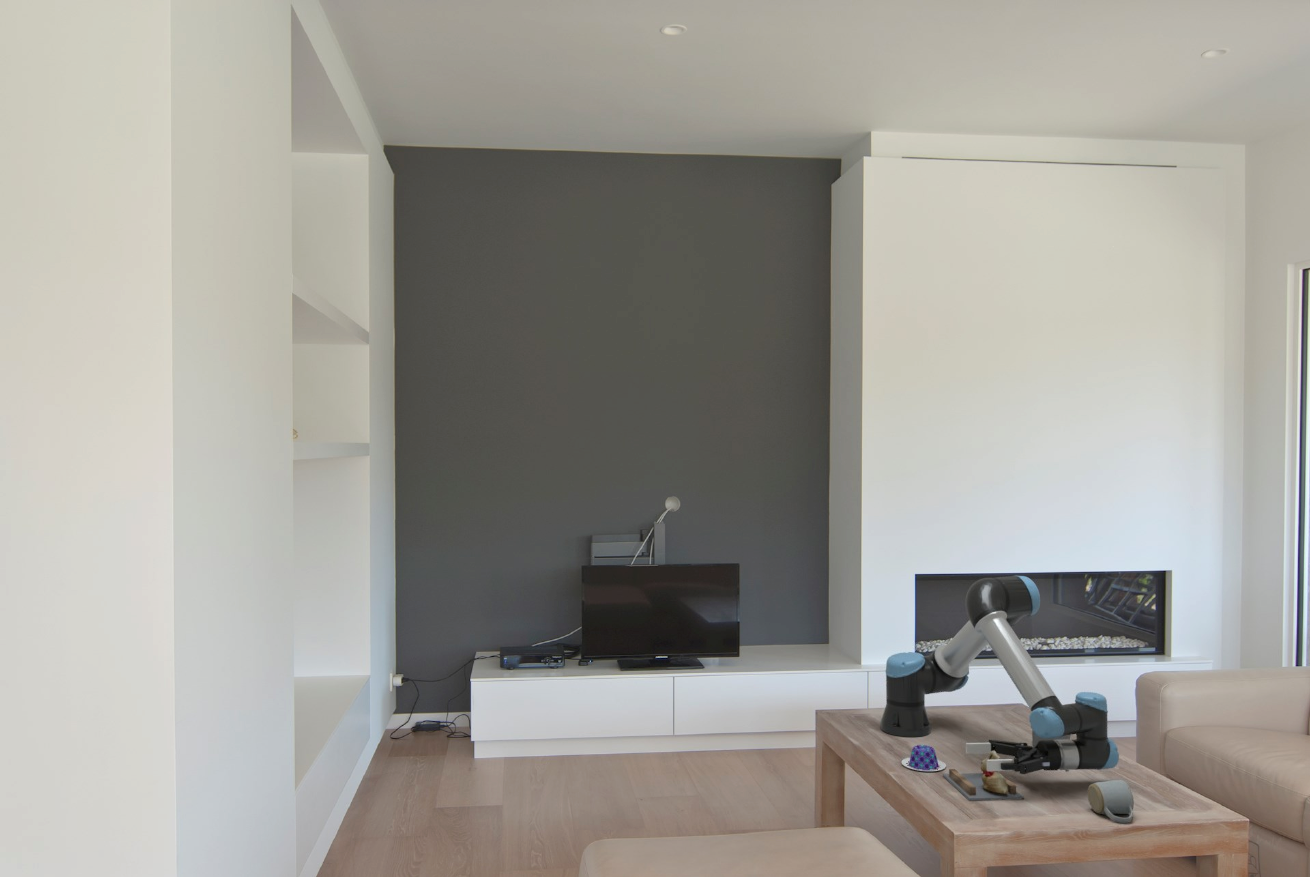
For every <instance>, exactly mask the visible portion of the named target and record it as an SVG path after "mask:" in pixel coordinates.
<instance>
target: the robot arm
mask: <svg viewBox="0 0 1310 877" xmlns="http://www.w3.org/2000/svg"><path fill="white" fill-rule="evenodd" d="M964 602H965V610H966V614H967V617H968V619H969V620H968V621H967V622H966V623H965V624H964V626H962V628H961V629H959V631H958V632H957V633H956V634H955V636H953V637H952V638H951V639H950V640H949V642H948V643H947V644H941V645H939V646H938V647H937V648H936V649H935V650H934V651H932V653H931V654H930V655H923V654H922V653H919V652H914V651H907V652H906V651H905V652H899V653H894V654H891V655H890V656H889V657H888V658H887V660H886V664H885V665H886V666H885V679H886V680H885V682H886V684H885V686H886V689H885V690H886V692H885V693H886V694H885V695H886V704H885V706H884V710H883V714H882V716H881V720H880V729H881V731H883V732H884V733H886V734H888V735H893V736H898V737H908V738H915V737H918V738H919V737H923V736H927V735H930V734H931V730H932V728H931V721H930V719H929V715H928V712H927V710H926V705H925V702H926V701H925V695H930V694H931V695H932V694H939V693H945V692H946V693H951V692H955V691H958V690H961V689H962V688H964V686H966V684H968V680H969V676H968V675H969V674H970V664H971V662H972V661H974V660H975V658H977V657H978V656H979V654H980V653H981V652H982V651H983V650H984V649H985V648H986V647H987V646H988V645H989V647H990V649H991V650H992V652H993V653H994V654H995V656H996V657H997V659H998V660H999V662H1000V664H1001V665H1002V666H1003V669H1004V670H1005V672H1006V673H1007V675H1008V676H1009V678H1010V679H1011V682H1012V683H1013V684H1014V686H1015V688H1016V689H1017V691H1018V692H1019V694H1020V695H1021V697H1022V698H1023V700H1024V702H1025V703H1026V705H1027V706H1028V708H1029V709H1030V712H1031V713H1029V714H1030V715H1029V720H1028V721H1029V723H1030V728H1031V731H1032V730H1033V732H1034V733H1035V734H1036V735H1037V736H1039V737H1041V738H1058V737H1061V736H1066V735H1071V736H1072V735H1075V736H1076V739H1071V738H1070V739H1065V740H1054V741H1053V740H1040V741H1039V742H1038V743H1037V745H1036V747H1032V745H1028V744H1029V743H1027V742H1016V741H1007V740H1005V741H1004V740H998V739H997V740H996V739H988V742H965V754H966V755H984V754H985V755H987V754H988V755H989V753H990V752H991V751H995V752H996V753H997V755H998V754H999V755H1005V756H1011V757H1013V759H1012V758H1011V759H1009V758H1005V759H1002V758H1000V759H996V760H987V771H998V772H1013V771H1014V772H1015V773H1019V774H1020V775H1026V774H1030V773H1033V772H1037V771H1041V770H1043V771H1058V770H1060V771H1065V772H1067V773H1068V772H1069V771H1073V770H1076V771H1077V770H1098V771H1101V770H1109V769H1114V768H1115V767H1117V765H1118V764H1119V760H1120V754H1119V752H1118V746H1117V744H1116V743H1115V741H1114V740H1113V739H1110V738H1108V712H1109V711H1108V704H1107V703H1108V702H1107V701H1108V700H1107V698H1106V697H1105V696H1104V695H1103V694H1101V693H1097V692H1091V691H1081V692H1078V693H1076V695H1075V700H1074V703H1067V704H1062V703H1061V700H1060V699H1059V698H1058V696H1057V695H1056V694H1055V692H1054V690H1053V689H1052V687H1051V686H1050V685H1049V683H1048V681H1047V680H1046V679H1045V677H1044V674H1042V672H1041V671H1040V669H1039V668H1038V666H1037V664H1036V663H1035V661H1034V660H1033V658H1032V657H1031V655H1030V654H1029V652H1028V651H1027V649H1026V648H1025V646H1024V644H1023V643H1022V641H1021V640H1020V638H1019V637H1018V636H1017V634H1016V633H1015V631H1014V629H1013V627H1014V626H1016V624H1017V623H1018V622H1019V621H1020V620H1021V619H1022V618H1023V617H1024V618H1025V617H1031V616H1034V615H1035V614H1036V613H1038V611H1039V609H1040V608H1041V606H1040V605H1041V596H1040V591H1039V587H1037V585H1036V583H1035V582H1034V581H1033V580H1032V579H1031V578H1029V577H1028V576H1025V575H1012V576H1011V575H1009V576H999V577H984V578H980V579H977V580H976V581H975V582H973V583H972V585H970V587H969V589H968V590H967V593H966V596H965V601H964Z"/></svg>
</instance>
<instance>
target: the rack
mask: <svg viewBox="0 0 1310 877" xmlns="http://www.w3.org/2000/svg"><path fill="white" fill-rule="evenodd" d="M948 774H949V777H950V778H951V779H953V780H954V781H955V782H956V783H957V784H958V785H959V786H960V787H961V788H963V789H964V790H965V791H966V792H967V793H968V794H969V795H976V787H975V786H974V785H973V784H972V783H970V782H969V781H968V780H967V779H966V778H965V777H963V776H962V775H961V773H960V772H959V771H958V770H957V769H955V768H949V769H948ZM1001 775H1002V776H1003V777H1004V778H1005V780H1006V783H1007V786H1008V793H1010V794H1016V791H1017V786H1016V784H1014V783H1013V782H1012V781H1011V780H1009V779H1008V778H1007V777H1006V776H1004V775H1003V774H1001Z"/></svg>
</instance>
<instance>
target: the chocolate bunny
mask: <svg viewBox="0 0 1310 877" xmlns="http://www.w3.org/2000/svg"><path fill="white" fill-rule="evenodd" d="M996 759H1001V757H1000V755H998V753H996V752H995V751H991V752H990V753H989V754H988V755H987V757H986V758H984V759H983V760H982V761H981V762H980V770H981V773H983V775H982V781H983V786H982V787H983V788H984V789H986V790H989V791H992V792H996V793H1003V794H1008V786H1007V783H1006V780H1005V778H1006V777H1005V776H1004V775H1003V774H1001V773H1000V771H987V760H996ZM1002 775H1003V776H1004V777H1005V778H1004V777H1003V776H1002Z"/></svg>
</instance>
